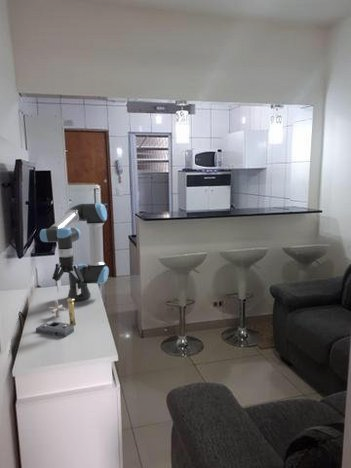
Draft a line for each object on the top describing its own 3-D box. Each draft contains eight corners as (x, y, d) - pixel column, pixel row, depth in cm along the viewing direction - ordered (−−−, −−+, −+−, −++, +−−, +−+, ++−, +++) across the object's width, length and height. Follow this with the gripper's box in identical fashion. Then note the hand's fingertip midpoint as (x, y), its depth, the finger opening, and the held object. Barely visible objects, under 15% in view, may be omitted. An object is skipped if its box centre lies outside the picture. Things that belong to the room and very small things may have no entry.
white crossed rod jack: (61, 320, 208) (59, 304, 206) (45, 319, 210) (44, 303, 208) (69, 314, 218) (68, 298, 216) (54, 313, 220) (53, 297, 218)
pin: (72, 322, 205) (70, 297, 202) (77, 323, 203) (75, 298, 201) (67, 325, 201) (65, 300, 199) (73, 326, 200) (71, 300, 197)
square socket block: (45, 326, 200) (44, 318, 200) (74, 331, 193) (73, 323, 192) (36, 331, 194) (35, 323, 193) (65, 337, 186) (64, 328, 185)
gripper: (43, 255, 197) (47, 292, 200) (79, 258, 187) (82, 297, 190) (53, 252, 204) (56, 288, 207) (88, 255, 194) (91, 293, 197)
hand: (69, 292), depth 199 cm, fingers open, 13 cm apart
